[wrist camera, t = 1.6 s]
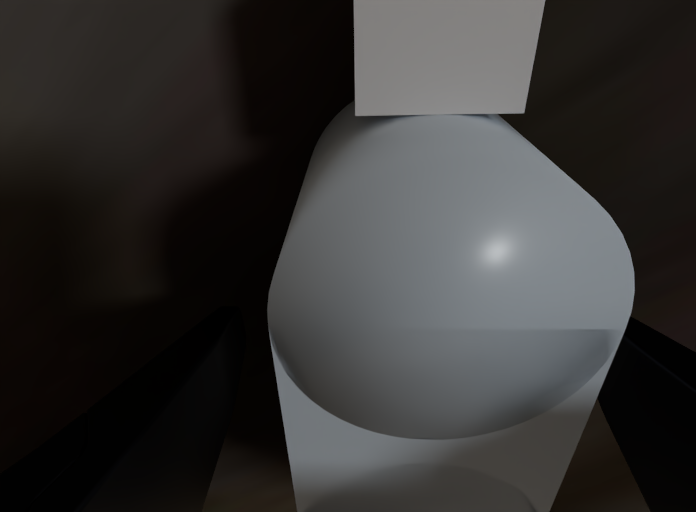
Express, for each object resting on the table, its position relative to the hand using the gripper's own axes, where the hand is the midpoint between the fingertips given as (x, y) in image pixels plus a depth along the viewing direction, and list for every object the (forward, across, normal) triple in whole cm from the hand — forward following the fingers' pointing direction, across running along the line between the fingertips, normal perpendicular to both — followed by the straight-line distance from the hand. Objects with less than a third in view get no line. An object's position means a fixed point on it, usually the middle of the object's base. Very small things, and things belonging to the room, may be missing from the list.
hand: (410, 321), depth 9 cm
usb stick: (+1, 0, -1) cm, 2 cm away
